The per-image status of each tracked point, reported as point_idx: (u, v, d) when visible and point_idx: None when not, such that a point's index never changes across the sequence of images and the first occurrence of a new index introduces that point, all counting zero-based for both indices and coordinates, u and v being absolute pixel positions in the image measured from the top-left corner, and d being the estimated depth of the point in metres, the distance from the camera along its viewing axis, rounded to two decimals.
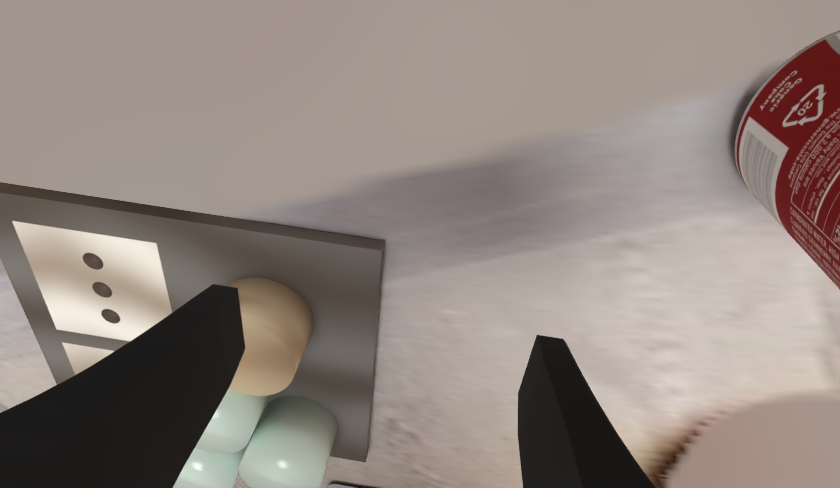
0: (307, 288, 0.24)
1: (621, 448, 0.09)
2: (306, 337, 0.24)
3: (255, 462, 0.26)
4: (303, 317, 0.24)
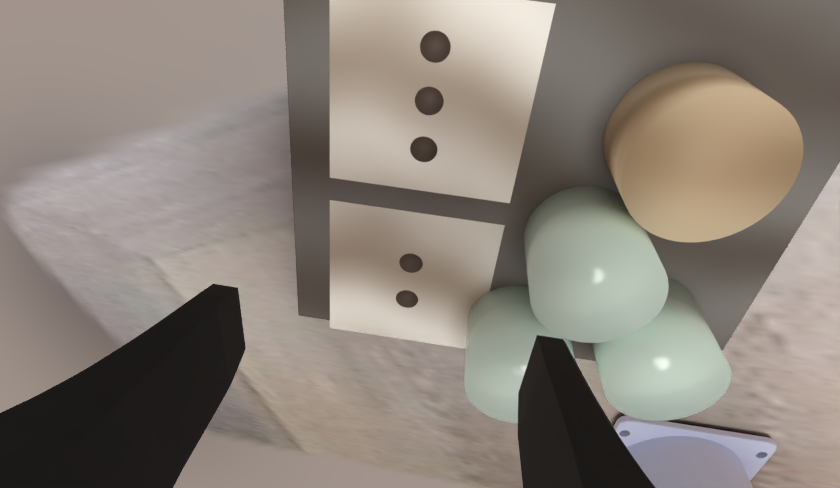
0: (772, 78, 0.16)
1: (621, 448, 0.09)
2: None
3: (642, 358, 0.18)
4: None
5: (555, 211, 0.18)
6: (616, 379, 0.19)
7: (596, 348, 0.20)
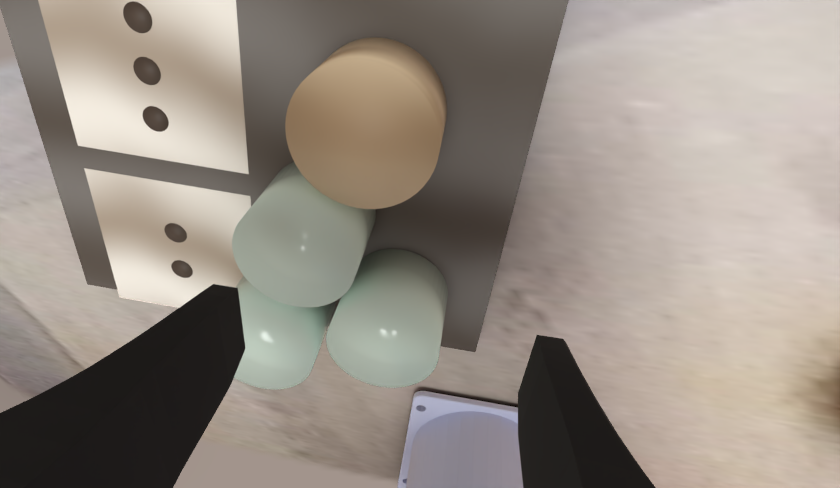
0: (448, 54, 0.17)
1: (621, 448, 0.09)
2: (444, 127, 0.17)
3: (350, 323, 0.19)
4: (441, 95, 0.17)
5: (274, 180, 0.19)
6: (337, 345, 0.20)
7: None
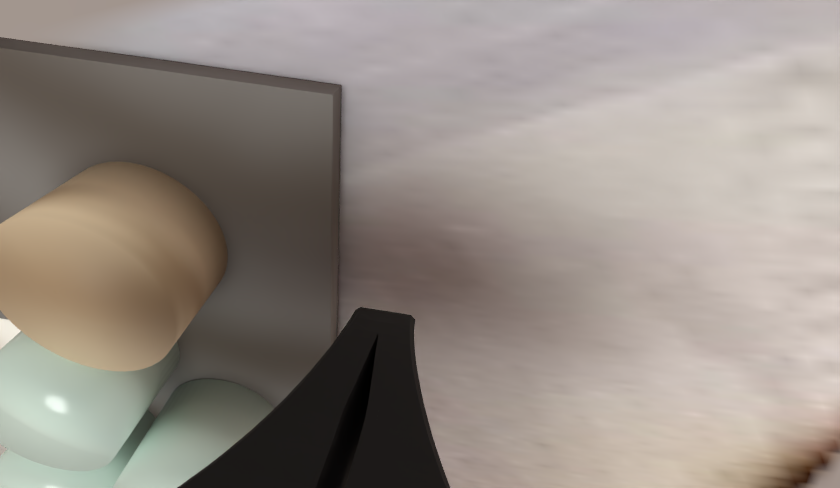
0: (208, 181, 0.14)
1: (417, 415, 0.09)
2: (207, 268, 0.14)
3: None
4: (199, 232, 0.13)
5: None
6: None
7: None
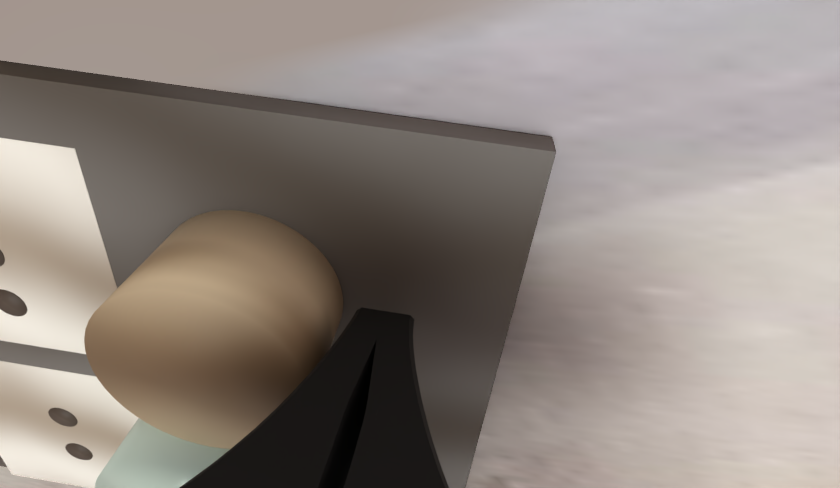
0: (382, 242, 0.12)
1: (415, 414, 0.09)
2: (331, 333, 0.12)
3: None
4: (325, 293, 0.12)
5: None
6: None
7: None
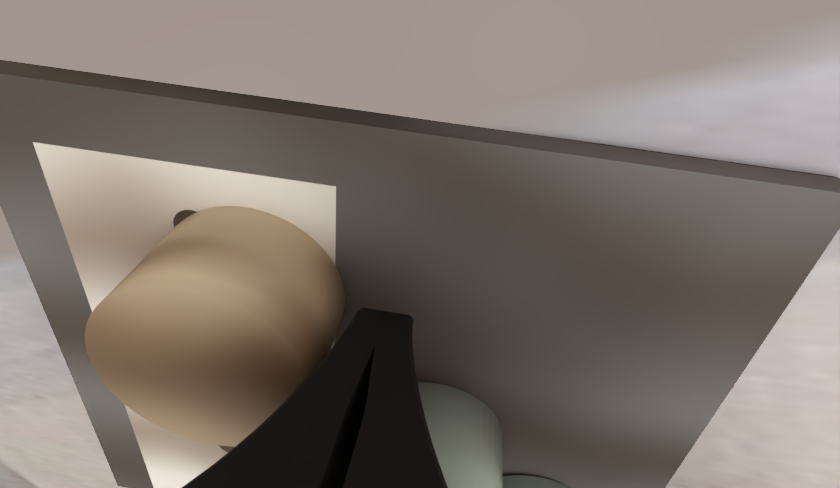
0: (639, 281, 0.12)
1: (415, 414, 0.09)
2: (333, 332, 0.12)
3: None
4: (329, 292, 0.12)
5: None
6: None
7: None
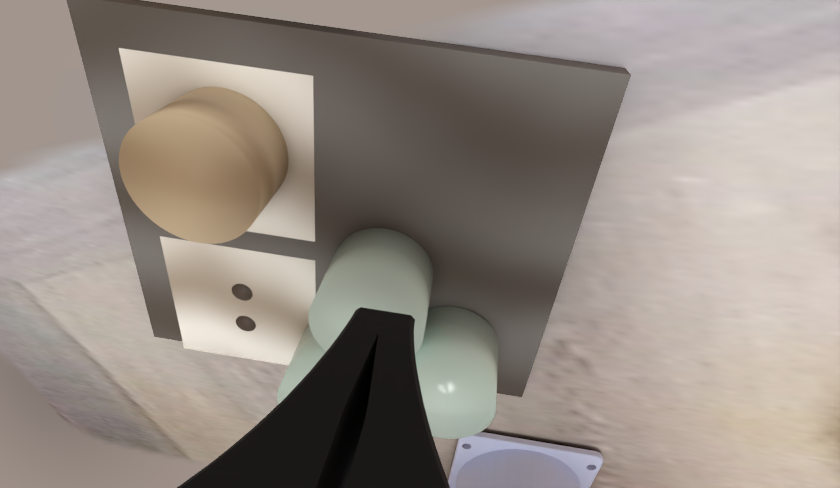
0: (509, 141, 0.18)
1: (417, 414, 0.09)
2: (277, 171, 0.18)
3: None
4: (274, 143, 0.18)
5: (343, 251, 0.20)
6: None
7: None
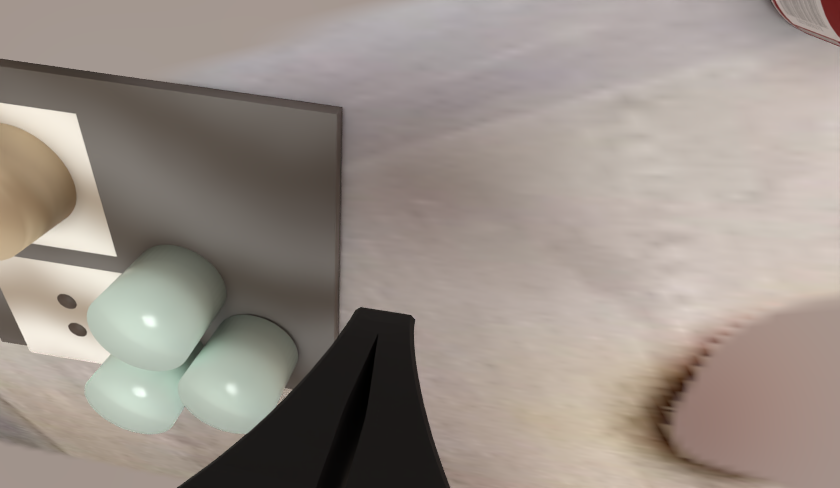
0: (254, 169, 0.20)
1: (417, 415, 0.09)
2: (55, 197, 0.21)
3: (189, 395, 0.23)
4: (49, 172, 0.21)
5: (130, 265, 0.23)
6: (201, 414, 0.24)
7: None
